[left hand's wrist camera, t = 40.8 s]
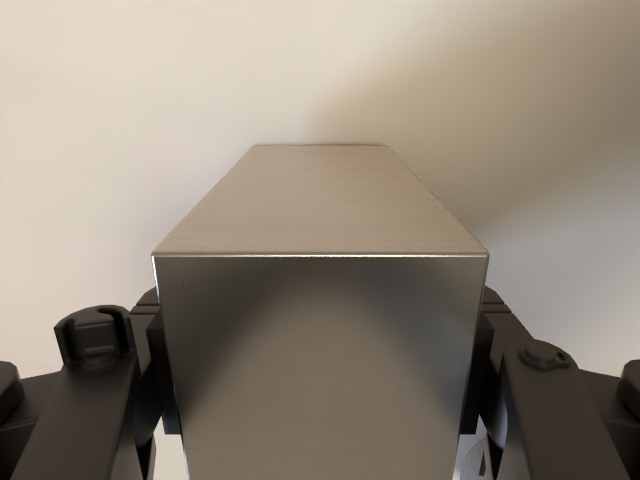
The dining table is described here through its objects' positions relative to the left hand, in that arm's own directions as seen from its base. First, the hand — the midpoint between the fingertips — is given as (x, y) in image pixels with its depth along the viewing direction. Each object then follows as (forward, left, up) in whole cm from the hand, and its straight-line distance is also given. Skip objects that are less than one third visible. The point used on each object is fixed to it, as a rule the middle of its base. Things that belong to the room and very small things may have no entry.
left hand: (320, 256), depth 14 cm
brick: (0, 0, -3) cm, 3 cm away
